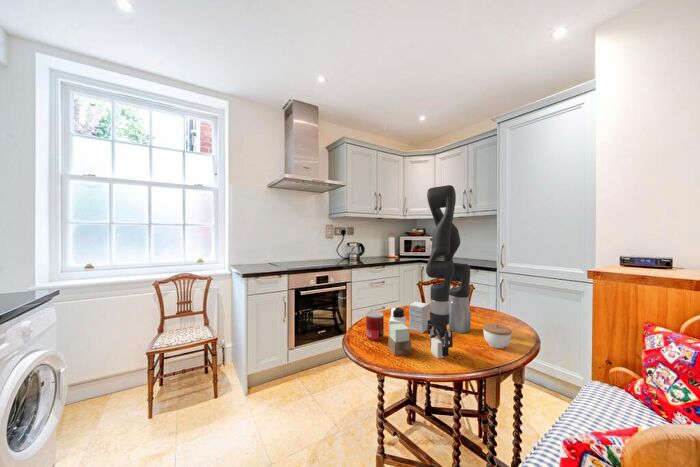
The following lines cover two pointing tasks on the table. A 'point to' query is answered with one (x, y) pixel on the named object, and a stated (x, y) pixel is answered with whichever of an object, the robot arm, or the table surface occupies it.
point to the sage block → (399, 332)
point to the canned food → (375, 325)
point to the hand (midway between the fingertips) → (438, 351)
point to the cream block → (436, 347)
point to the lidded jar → (497, 335)
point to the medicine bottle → (397, 317)
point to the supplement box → (418, 316)
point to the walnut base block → (399, 346)
